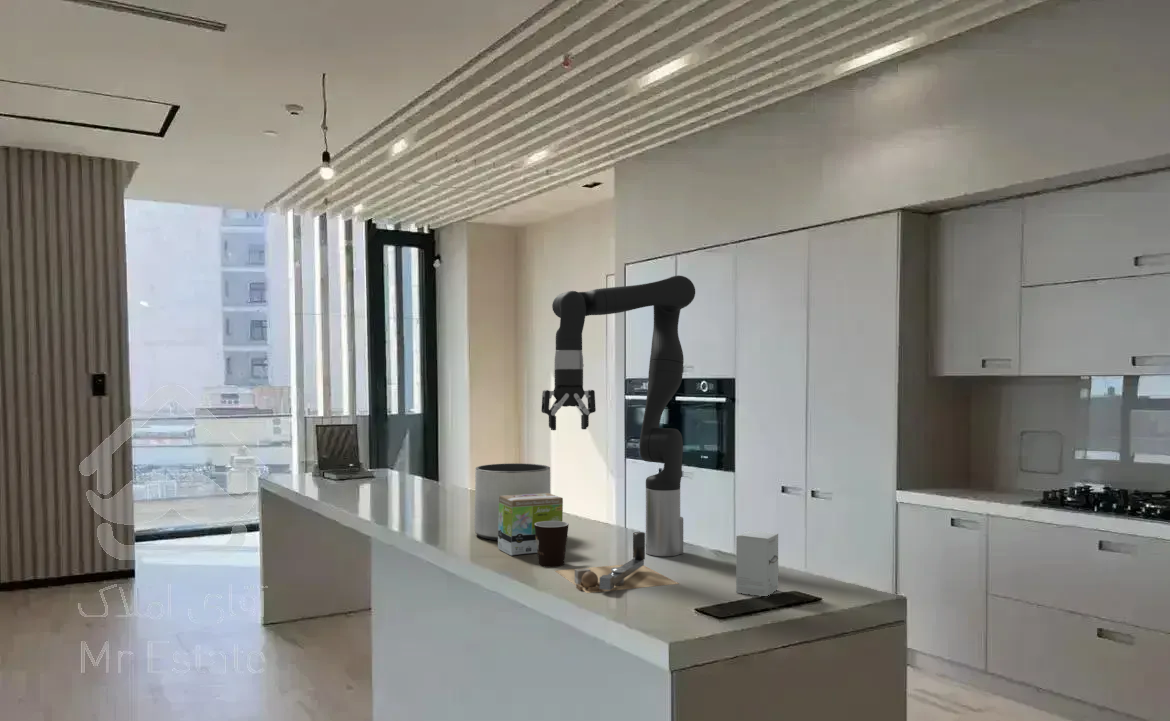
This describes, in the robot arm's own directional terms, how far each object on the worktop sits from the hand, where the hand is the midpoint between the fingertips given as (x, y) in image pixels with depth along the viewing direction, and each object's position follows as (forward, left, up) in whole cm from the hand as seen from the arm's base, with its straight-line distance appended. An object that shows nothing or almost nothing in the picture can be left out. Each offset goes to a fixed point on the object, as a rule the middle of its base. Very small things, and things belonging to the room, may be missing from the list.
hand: (568, 429), depth 212 cm
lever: (-1, +32, -31) cm, 45 cm away
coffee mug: (+6, +5, -33) cm, 34 cm away
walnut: (+8, +36, -32) cm, 48 cm away
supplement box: (-27, +47, -33) cm, 64 cm away
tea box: (+7, -11, -33) cm, 36 cm away
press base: (-1, +28, -33) cm, 44 cm away
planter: (+5, -34, -33) cm, 48 cm away
